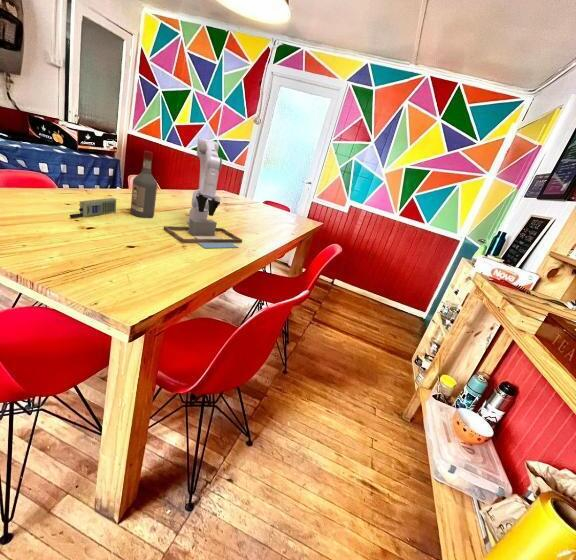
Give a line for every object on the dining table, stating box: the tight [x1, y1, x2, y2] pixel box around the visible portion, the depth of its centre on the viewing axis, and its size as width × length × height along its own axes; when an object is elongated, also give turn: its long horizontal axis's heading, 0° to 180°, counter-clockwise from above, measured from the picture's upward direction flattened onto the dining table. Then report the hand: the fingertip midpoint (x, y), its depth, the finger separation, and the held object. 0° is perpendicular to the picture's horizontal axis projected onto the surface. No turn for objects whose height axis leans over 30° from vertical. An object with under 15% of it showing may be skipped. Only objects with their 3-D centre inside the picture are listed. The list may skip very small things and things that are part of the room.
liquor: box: [130, 150, 158, 219], centre depth 152 cm, size 9×9×30 cm
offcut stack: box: [193, 235, 223, 239], centre depth 149 cm, size 4×15×2 cm, turn 134°
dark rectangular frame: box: [163, 225, 243, 244], centre depth 151 cm, size 17×32×2 cm, turn 135°
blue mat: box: [197, 243, 239, 250], centre depth 144 cm, size 6×18×1 cm, turn 135°
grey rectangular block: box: [187, 219, 217, 237], centre depth 152 cm, size 4×12×7 cm, turn 135°
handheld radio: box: [69, 197, 117, 219], centre depth 138 cm, size 7×3×25 cm
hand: (205, 213), depth 149 cm, fingers open, 7 cm apart
